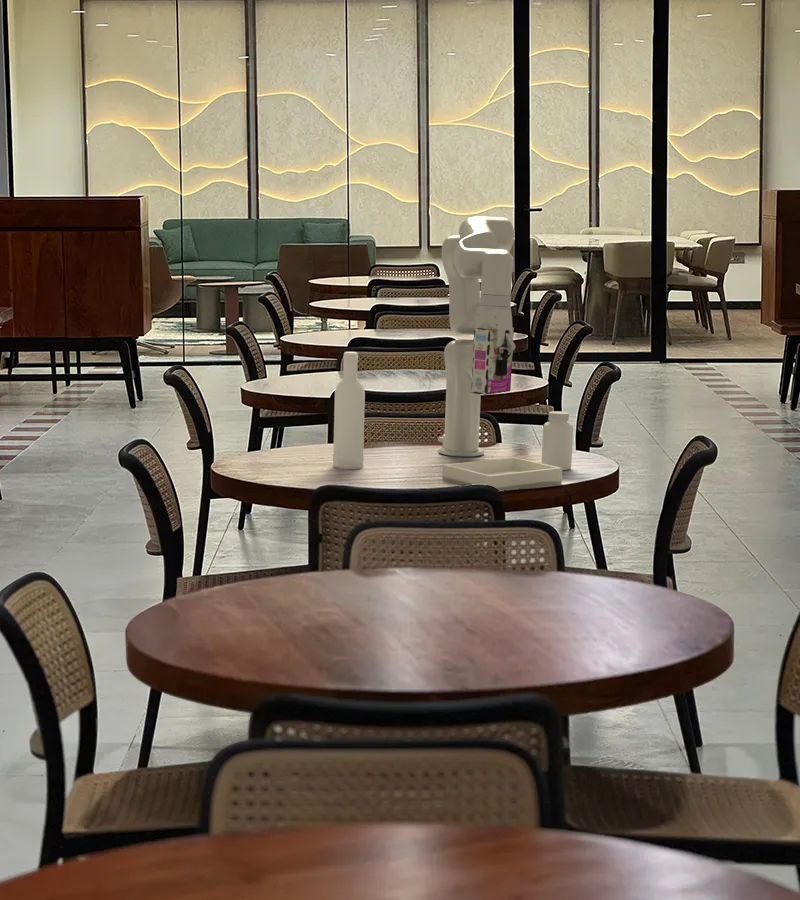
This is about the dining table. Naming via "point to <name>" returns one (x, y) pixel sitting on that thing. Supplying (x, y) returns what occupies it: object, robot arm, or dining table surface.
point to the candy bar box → (488, 364)
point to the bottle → (349, 417)
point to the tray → (503, 473)
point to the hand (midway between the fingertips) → (492, 373)
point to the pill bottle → (557, 440)
